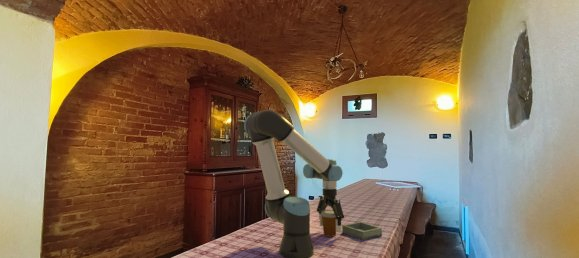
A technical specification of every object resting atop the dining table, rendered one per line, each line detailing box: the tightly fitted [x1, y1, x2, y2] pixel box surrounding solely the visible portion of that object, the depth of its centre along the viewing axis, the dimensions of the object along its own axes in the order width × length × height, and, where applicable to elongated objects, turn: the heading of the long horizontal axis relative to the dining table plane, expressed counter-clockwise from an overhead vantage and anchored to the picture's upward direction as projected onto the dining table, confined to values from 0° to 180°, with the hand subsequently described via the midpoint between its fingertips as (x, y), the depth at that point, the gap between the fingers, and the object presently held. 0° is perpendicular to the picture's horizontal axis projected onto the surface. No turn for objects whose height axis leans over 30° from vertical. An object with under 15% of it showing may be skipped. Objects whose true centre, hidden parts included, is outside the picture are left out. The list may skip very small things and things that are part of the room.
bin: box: [341, 221, 383, 241], centre depth 157 cm, size 14×15×4 cm
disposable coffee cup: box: [321, 209, 337, 237], centre depth 156 cm, size 10×10×12 cm
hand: (329, 228), depth 156 cm, fingers open, 12 cm apart
